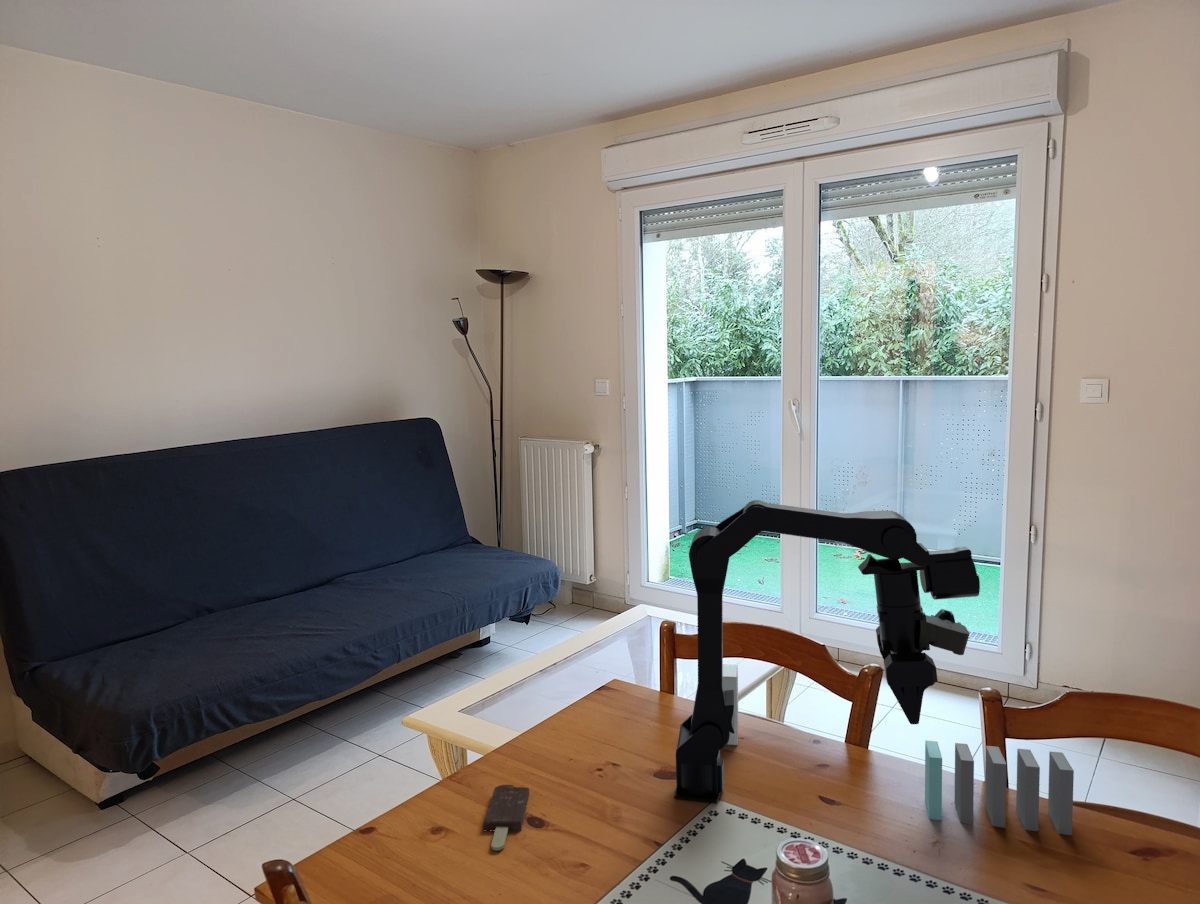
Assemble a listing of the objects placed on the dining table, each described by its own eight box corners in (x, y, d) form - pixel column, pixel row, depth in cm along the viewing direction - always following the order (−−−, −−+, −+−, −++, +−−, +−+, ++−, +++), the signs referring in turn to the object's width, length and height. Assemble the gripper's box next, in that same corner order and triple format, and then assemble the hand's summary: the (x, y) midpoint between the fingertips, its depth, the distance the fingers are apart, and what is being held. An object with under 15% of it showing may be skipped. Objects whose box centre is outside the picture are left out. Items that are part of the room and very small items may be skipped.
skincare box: (738, 746, 131) (737, 677, 129) (712, 744, 131) (711, 676, 130) (739, 729, 136) (738, 663, 135) (714, 728, 137) (713, 662, 136)
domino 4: (1058, 833, 103) (1060, 769, 103) (1048, 813, 108) (1049, 751, 107) (1072, 835, 103) (1073, 770, 102) (1060, 814, 108) (1062, 752, 107)
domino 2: (992, 826, 106) (993, 763, 105) (984, 806, 110) (985, 745, 110) (1005, 827, 105) (1006, 764, 104) (997, 807, 110) (998, 746, 109)
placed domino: (929, 818, 108) (929, 757, 107) (924, 799, 113) (925, 740, 112) (941, 820, 107) (942, 758, 106) (936, 801, 112) (937, 741, 111)
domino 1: (960, 822, 107) (961, 759, 106) (954, 802, 112) (955, 742, 111) (973, 823, 106) (973, 761, 105) (966, 804, 111) (967, 744, 110)
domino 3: (1025, 829, 105) (1026, 766, 104) (1016, 809, 109) (1017, 748, 108) (1038, 831, 104) (1039, 767, 103) (1028, 810, 109) (1030, 749, 108)
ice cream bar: (516, 854, 104) (530, 793, 119) (515, 842, 104) (529, 783, 118) (477, 855, 104) (495, 794, 119) (476, 843, 104) (495, 784, 119)
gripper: (973, 617, 98) (986, 738, 99) (949, 582, 116) (960, 684, 116) (880, 622, 101) (893, 739, 102) (870, 586, 119) (882, 686, 120)
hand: (910, 710), depth 110 cm, fingers open, 9 cm apart
